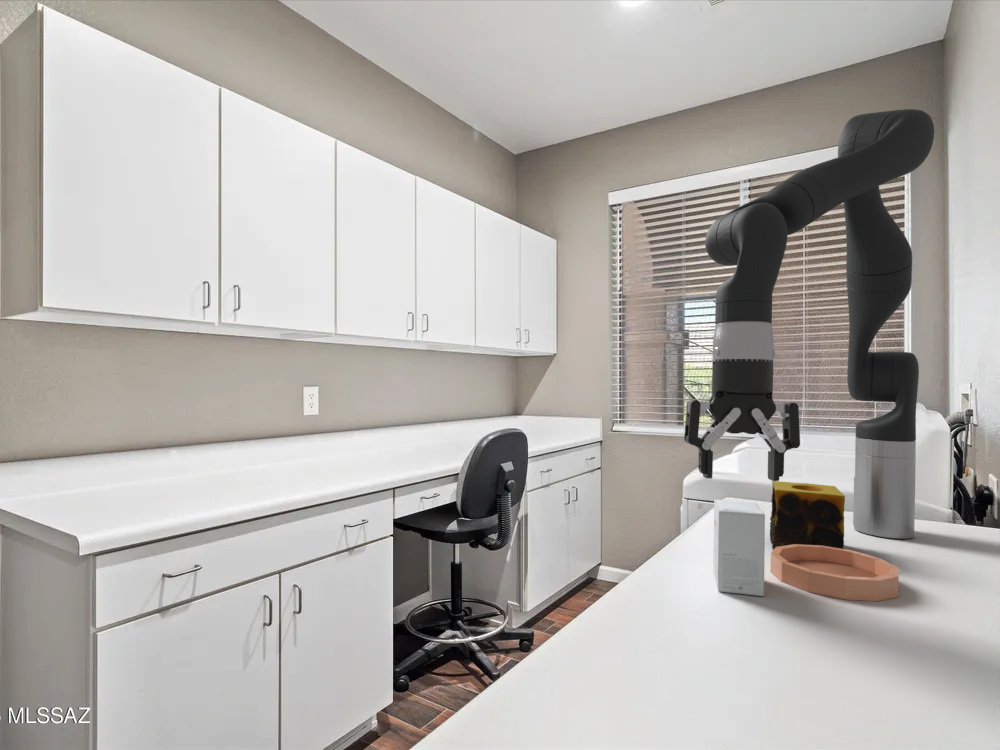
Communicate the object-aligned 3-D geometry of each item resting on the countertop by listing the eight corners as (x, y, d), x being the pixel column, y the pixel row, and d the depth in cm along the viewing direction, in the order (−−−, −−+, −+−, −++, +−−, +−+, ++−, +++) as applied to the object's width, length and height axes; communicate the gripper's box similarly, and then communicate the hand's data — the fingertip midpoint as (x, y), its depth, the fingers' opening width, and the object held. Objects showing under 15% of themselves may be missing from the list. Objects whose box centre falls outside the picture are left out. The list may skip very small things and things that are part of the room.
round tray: (756, 559, 87) (757, 542, 87) (860, 564, 85) (860, 547, 85) (798, 596, 72) (799, 576, 72) (925, 603, 70) (925, 582, 70)
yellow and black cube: (772, 551, 91) (773, 489, 91) (768, 535, 101) (769, 479, 101) (845, 560, 87) (846, 495, 88) (834, 543, 97) (835, 484, 97)
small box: (764, 598, 71) (765, 514, 71) (716, 592, 73) (718, 510, 73) (755, 577, 79) (756, 501, 79) (712, 572, 80) (714, 498, 81)
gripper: (786, 360, 79) (784, 476, 79) (681, 358, 80) (679, 472, 80) (810, 357, 72) (808, 486, 71) (694, 355, 73) (692, 481, 73)
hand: (740, 478), depth 76 cm, fingers open, 8 cm apart
